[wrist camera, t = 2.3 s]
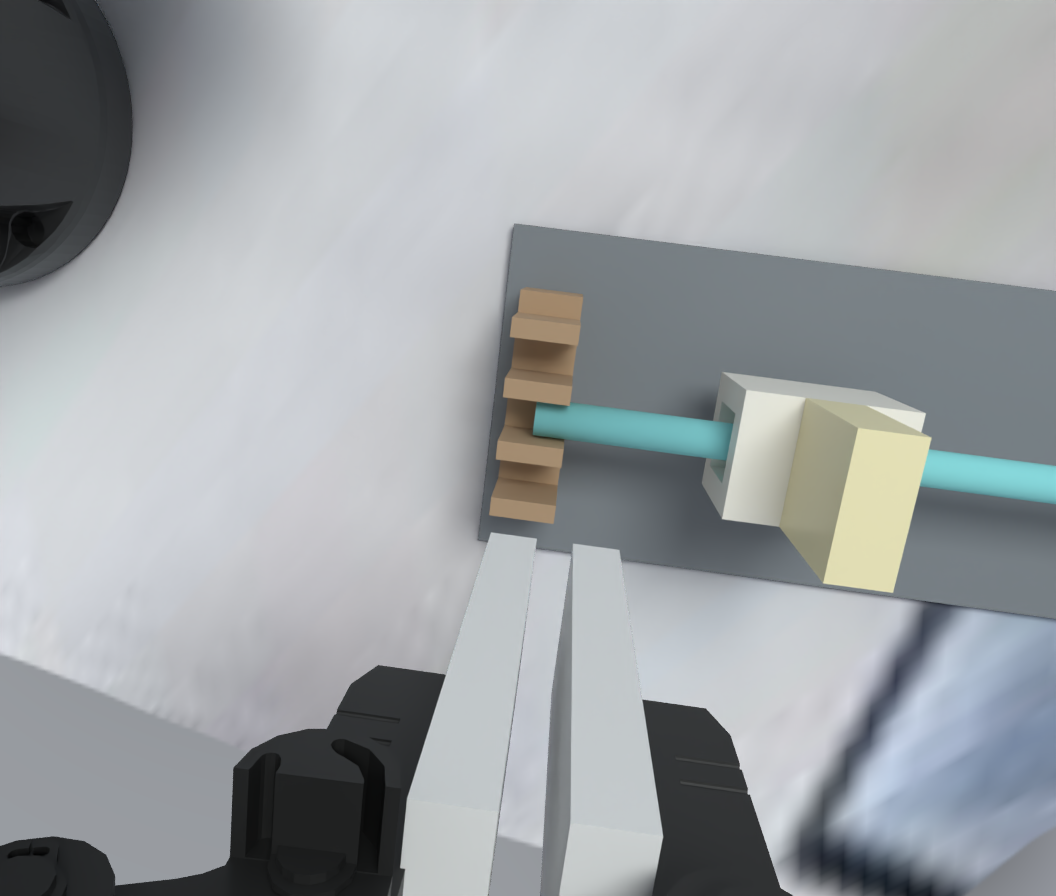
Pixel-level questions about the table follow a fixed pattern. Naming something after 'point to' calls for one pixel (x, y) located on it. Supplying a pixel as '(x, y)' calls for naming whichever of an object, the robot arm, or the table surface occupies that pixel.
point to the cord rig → (781, 353)
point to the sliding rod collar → (822, 472)
